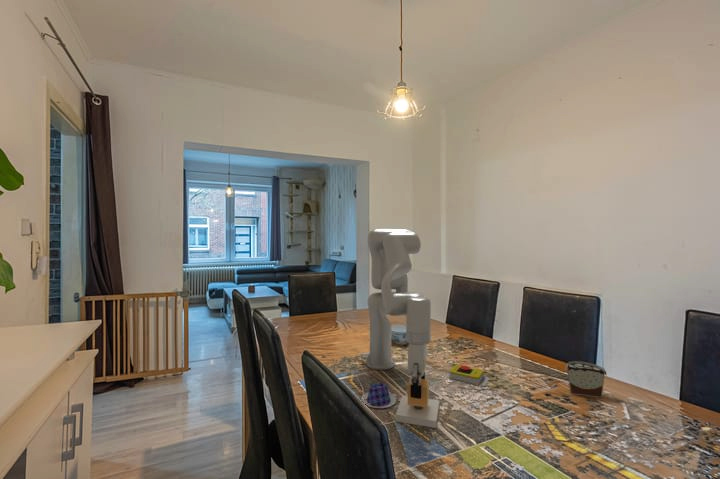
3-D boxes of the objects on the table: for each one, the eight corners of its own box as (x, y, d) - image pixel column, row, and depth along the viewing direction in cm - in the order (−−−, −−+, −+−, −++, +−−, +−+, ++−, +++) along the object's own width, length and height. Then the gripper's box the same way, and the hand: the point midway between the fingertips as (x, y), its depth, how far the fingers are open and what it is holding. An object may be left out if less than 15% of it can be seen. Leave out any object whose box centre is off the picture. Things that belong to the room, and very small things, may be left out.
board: (395, 421, 99) (395, 391, 99) (402, 401, 111) (402, 374, 111) (436, 428, 95) (436, 397, 95) (439, 406, 108) (439, 379, 108)
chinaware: (381, 340, 179) (381, 326, 179) (405, 337, 185) (405, 323, 185) (396, 348, 165) (396, 333, 165) (420, 344, 172) (420, 329, 172)
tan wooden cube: (407, 404, 101) (407, 385, 101) (410, 395, 107) (410, 377, 107) (427, 407, 99) (427, 387, 99) (429, 398, 105) (429, 379, 105)
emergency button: (452, 360, 138) (490, 368, 130) (452, 371, 138) (490, 379, 130) (445, 367, 131) (484, 376, 122) (445, 378, 131) (484, 387, 122)
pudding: (384, 390, 120) (384, 376, 120) (403, 405, 109) (403, 389, 109) (355, 397, 114) (355, 382, 114) (371, 413, 104) (371, 397, 104)
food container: (600, 390, 119) (600, 363, 119) (606, 398, 113) (606, 369, 113) (561, 385, 123) (561, 359, 123) (565, 392, 117) (565, 365, 117)
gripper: (410, 328, 113) (410, 377, 113) (401, 343, 96) (401, 401, 96) (432, 330, 110) (432, 380, 111) (427, 346, 94) (427, 405, 94)
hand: (417, 390), depth 103 cm, fingers open, 9 cm apart
